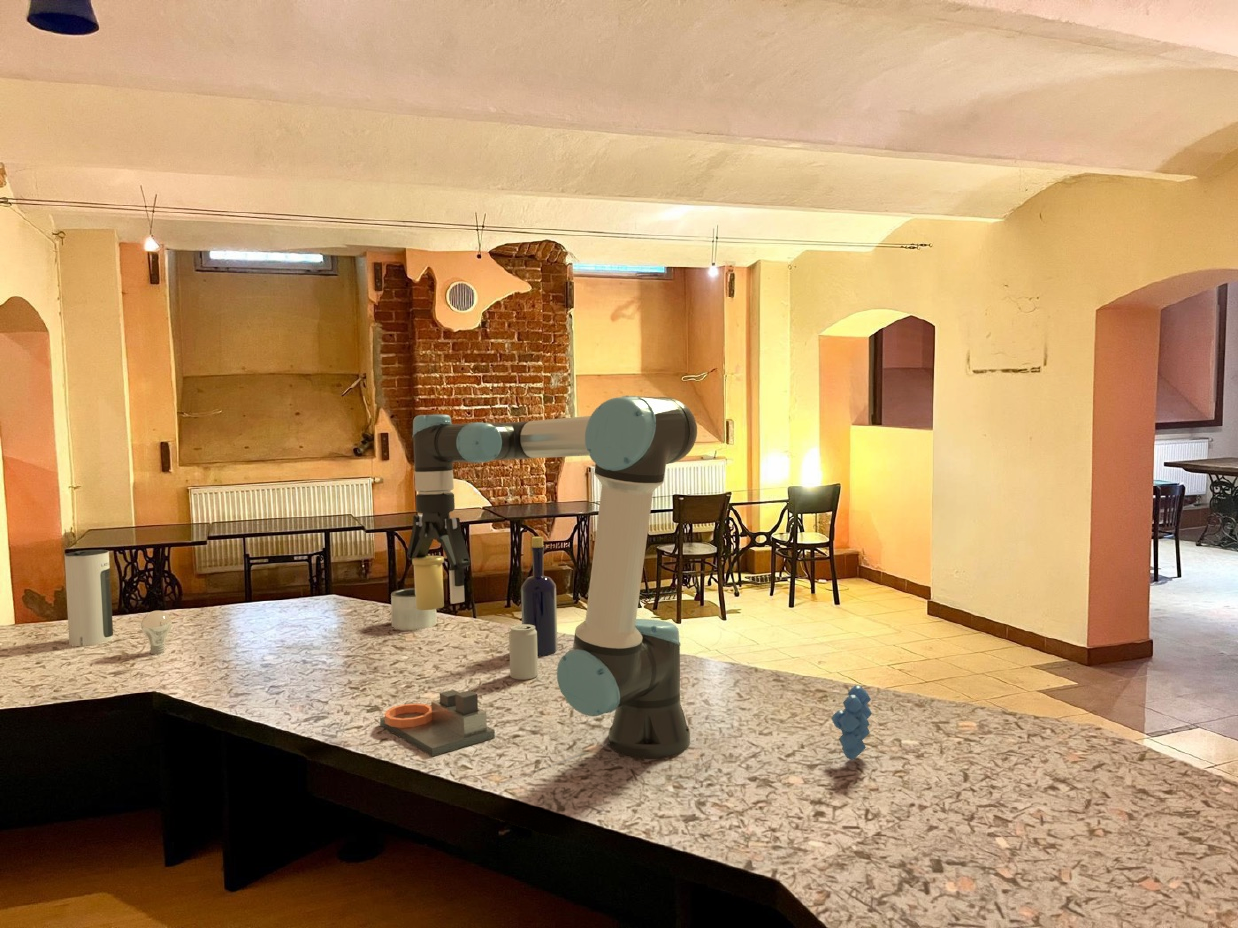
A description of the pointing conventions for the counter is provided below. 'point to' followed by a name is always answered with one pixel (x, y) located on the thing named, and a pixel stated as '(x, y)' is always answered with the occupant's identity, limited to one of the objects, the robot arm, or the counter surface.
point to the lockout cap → (429, 582)
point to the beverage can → (523, 652)
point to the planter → (410, 612)
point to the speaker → (88, 597)
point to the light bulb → (156, 630)
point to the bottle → (540, 603)
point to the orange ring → (408, 721)
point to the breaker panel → (444, 729)
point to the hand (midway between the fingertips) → (439, 598)
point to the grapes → (853, 722)
